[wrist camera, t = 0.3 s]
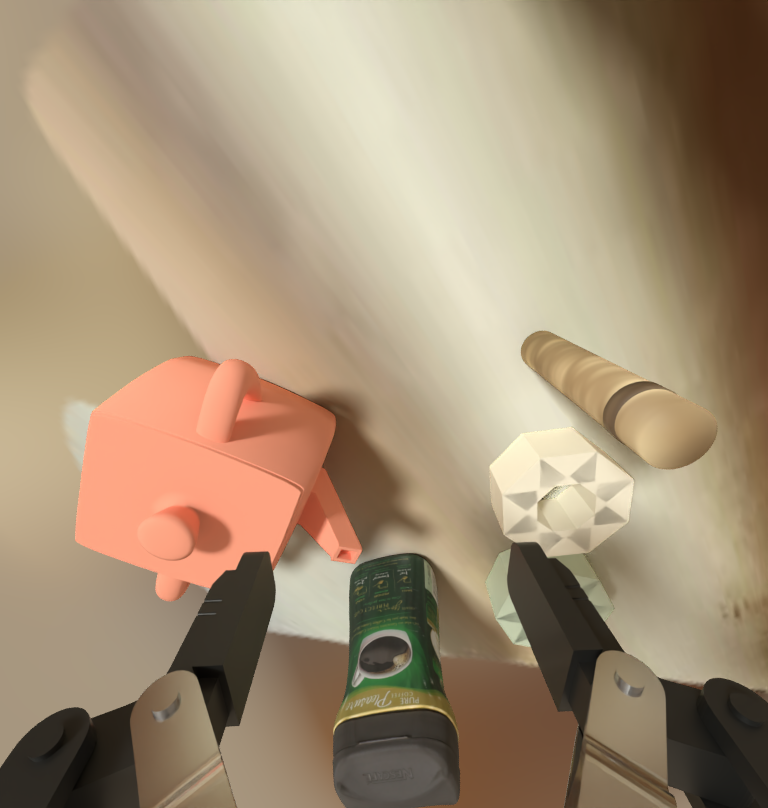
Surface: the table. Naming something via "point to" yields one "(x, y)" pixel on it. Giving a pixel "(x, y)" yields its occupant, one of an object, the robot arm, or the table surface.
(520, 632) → the sage bead
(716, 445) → the table surface
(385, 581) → the coffee jar
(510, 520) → the cream octagonal ring
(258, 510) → the teapot
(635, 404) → the grooved wooden dowel
